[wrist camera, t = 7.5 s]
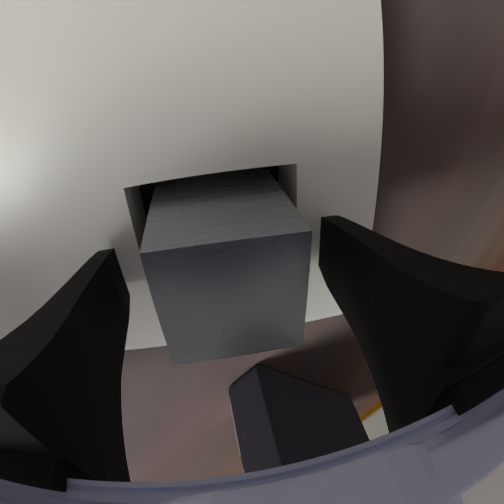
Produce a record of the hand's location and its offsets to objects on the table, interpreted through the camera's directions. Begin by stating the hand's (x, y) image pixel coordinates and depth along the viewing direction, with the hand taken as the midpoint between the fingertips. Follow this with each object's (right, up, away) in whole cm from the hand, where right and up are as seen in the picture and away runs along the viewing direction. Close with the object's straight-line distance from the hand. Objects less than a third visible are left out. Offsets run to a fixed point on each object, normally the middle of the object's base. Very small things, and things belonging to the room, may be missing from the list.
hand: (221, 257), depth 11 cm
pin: (-1, +2, +2) cm, 3 cm away
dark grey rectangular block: (+4, -10, +11) cm, 16 cm away
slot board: (-4, +4, 0) cm, 5 cm away
